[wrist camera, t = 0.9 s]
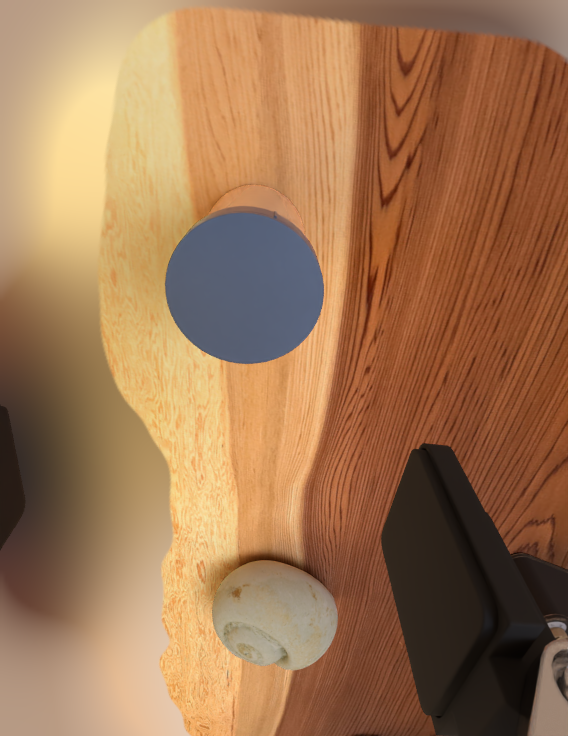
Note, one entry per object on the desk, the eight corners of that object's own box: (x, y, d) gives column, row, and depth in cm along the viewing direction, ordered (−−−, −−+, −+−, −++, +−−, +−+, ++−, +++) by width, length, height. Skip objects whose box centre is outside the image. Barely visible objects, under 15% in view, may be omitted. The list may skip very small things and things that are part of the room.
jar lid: (199, 176, 19) (193, 181, 17) (347, 241, 20) (352, 251, 19) (155, 319, 22) (147, 333, 20) (285, 367, 23) (286, 383, 22)
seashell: (203, 681, 42) (219, 635, 36) (208, 595, 48) (222, 544, 42) (332, 680, 44) (367, 638, 39) (321, 598, 51) (349, 551, 45)
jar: (224, 166, 27) (198, 192, 18) (320, 209, 28) (341, 254, 19) (193, 263, 30) (156, 327, 21) (281, 298, 31) (283, 372, 22)
